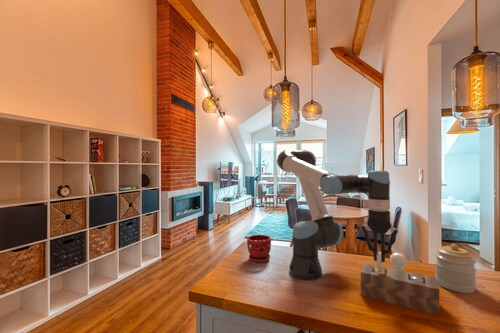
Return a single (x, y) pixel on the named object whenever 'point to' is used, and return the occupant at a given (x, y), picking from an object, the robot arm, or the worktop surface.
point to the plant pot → (259, 247)
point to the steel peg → (416, 278)
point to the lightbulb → (398, 261)
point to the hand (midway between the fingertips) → (379, 269)
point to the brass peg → (379, 271)
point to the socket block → (401, 289)
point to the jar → (455, 269)
